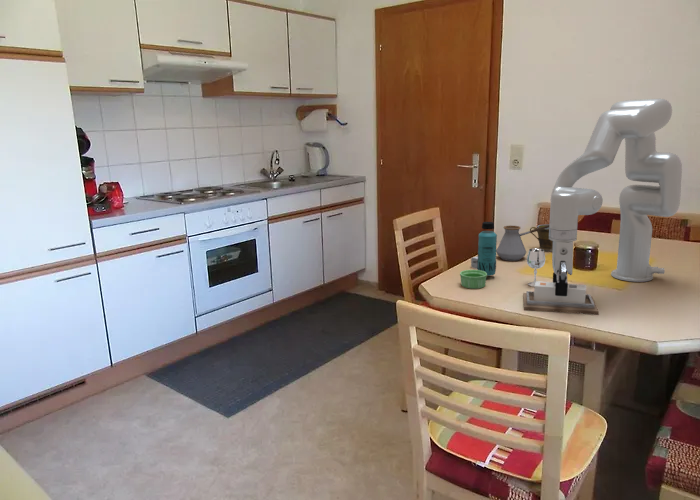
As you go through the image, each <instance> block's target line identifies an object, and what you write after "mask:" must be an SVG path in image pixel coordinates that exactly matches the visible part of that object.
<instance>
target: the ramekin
mask: <svg viewBox="0 0 700 500" xmlns="http://www.w3.org/2000/svg"><path fill="white" fill-rule="evenodd" d="M459 276H460V283H461V286H462V287H463V288H465V289H471V290H473V289H474V290H477V289H482V288H485V287H486V284H487V282H486V281H487V277H488V276H487V273H486V272H484V271H481V270H478V269H466V270H461V271H460V272H459Z"/></svg>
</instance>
